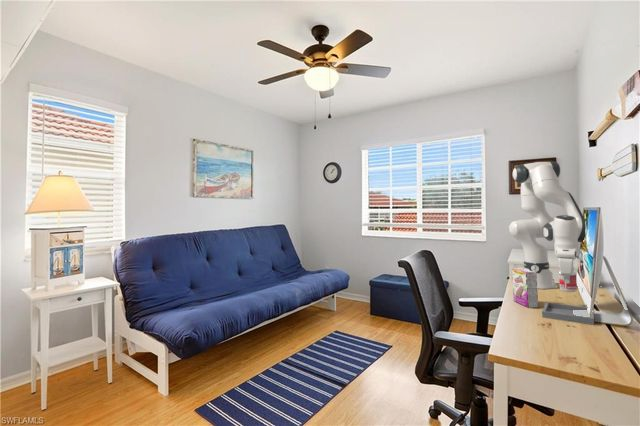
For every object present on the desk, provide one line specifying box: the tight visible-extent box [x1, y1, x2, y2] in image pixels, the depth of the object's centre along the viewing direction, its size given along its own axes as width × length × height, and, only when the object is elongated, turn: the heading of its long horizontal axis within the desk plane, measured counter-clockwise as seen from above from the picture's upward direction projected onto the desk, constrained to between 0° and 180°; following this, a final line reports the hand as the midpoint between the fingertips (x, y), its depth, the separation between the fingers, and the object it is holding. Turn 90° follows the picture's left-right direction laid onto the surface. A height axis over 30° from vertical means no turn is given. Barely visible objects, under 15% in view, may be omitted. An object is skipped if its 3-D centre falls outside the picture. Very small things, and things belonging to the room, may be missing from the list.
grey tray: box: [541, 301, 595, 326], centre depth 127 cm, size 16×16×2 cm
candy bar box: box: [511, 267, 539, 309], centre depth 144 cm, size 11×5×16 cm, turn 179°
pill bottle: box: [558, 266, 578, 293], centre depth 139 cm, size 6×6×11 cm
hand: (567, 281), depth 139 cm, fingers closed on pill bottle, 6 cm apart
